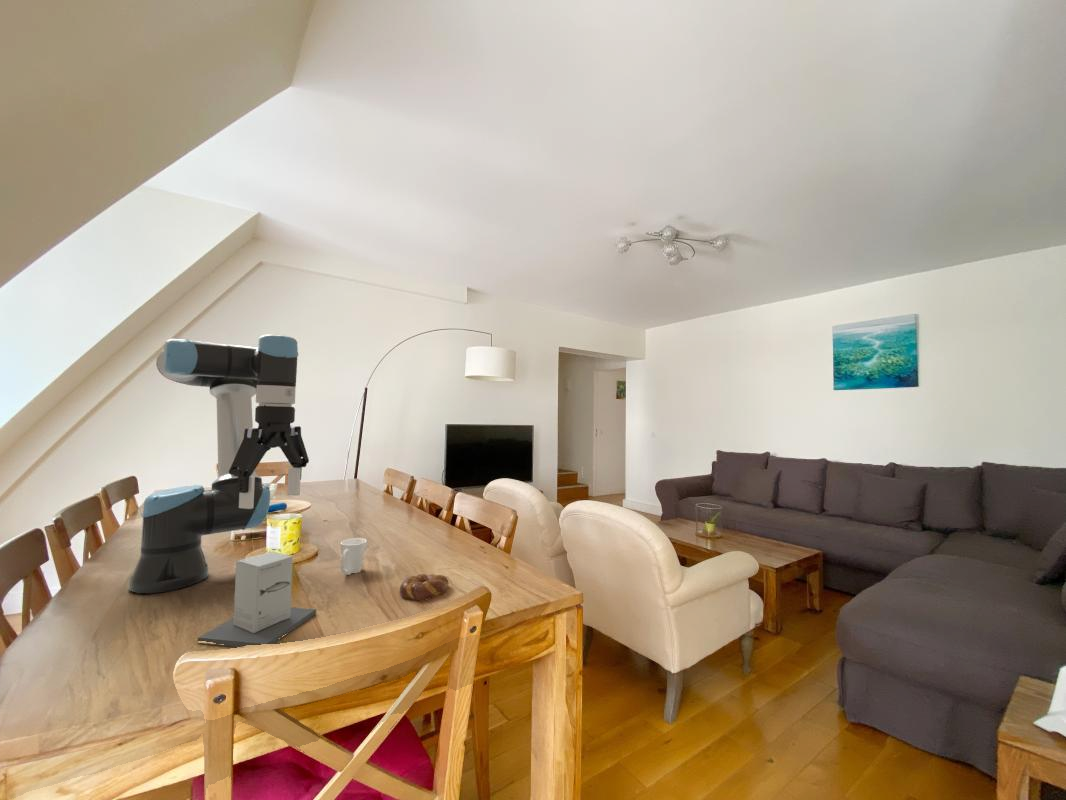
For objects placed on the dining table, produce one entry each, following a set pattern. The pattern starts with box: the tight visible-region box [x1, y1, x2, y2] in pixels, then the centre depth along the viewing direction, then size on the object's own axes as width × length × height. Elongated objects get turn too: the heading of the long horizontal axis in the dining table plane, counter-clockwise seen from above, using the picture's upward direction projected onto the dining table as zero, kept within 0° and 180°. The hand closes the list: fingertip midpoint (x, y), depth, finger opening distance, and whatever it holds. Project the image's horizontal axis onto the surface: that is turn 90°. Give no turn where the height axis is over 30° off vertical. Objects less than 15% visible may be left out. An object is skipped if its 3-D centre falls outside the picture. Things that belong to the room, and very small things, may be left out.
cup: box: [339, 537, 367, 576], centre depth 114 cm, size 7×10×8 cm
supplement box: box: [233, 550, 294, 633], centre depth 85 cm, size 7×7×13 cm
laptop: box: [197, 606, 317, 648], centre depth 84 cm, size 14×14×1 cm
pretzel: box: [399, 573, 450, 602], centre depth 102 cm, size 12×11×4 cm
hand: (271, 501), depth 93 cm, fingers open, 13 cm apart
